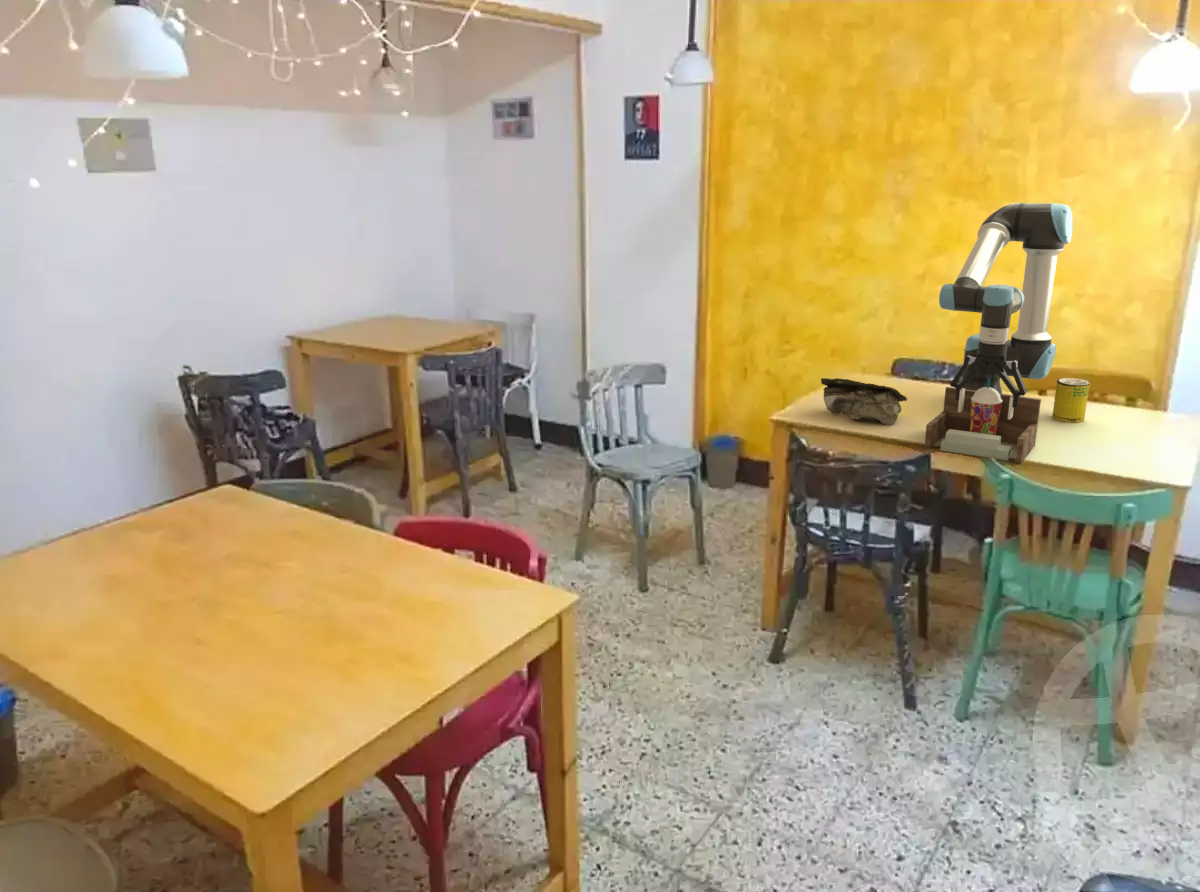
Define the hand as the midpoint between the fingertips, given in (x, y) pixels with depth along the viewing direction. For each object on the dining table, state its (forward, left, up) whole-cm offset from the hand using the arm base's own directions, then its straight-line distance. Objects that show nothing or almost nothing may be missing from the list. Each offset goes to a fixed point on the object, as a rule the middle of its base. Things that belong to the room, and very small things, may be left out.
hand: (984, 414), depth 267 cm
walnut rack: (+2, 0, -9) cm, 9 cm away
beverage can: (-40, +16, -9) cm, 44 cm away
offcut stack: (+8, 0, -10) cm, 12 cm away
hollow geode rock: (-10, -40, -10) cm, 42 cm away
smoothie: (0, 0, -9) cm, 9 cm away
